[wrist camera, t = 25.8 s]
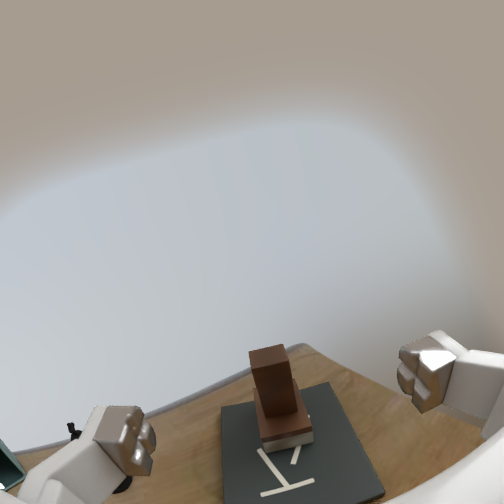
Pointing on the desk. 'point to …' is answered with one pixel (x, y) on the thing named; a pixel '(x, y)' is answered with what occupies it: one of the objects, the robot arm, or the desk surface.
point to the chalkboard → (297, 458)
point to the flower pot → (9, 468)
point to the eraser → (278, 401)
